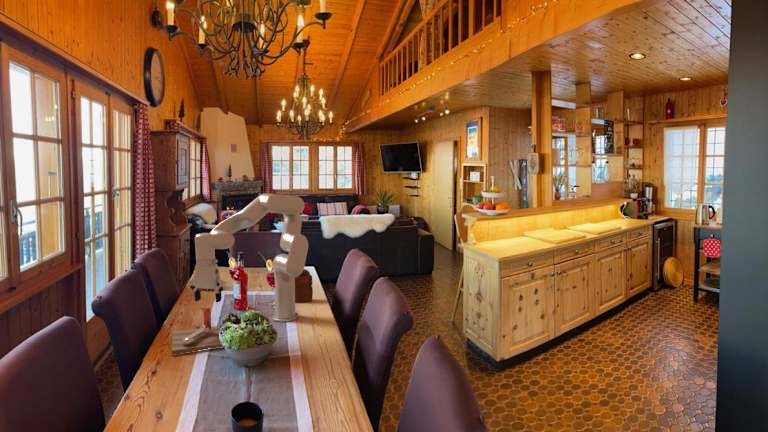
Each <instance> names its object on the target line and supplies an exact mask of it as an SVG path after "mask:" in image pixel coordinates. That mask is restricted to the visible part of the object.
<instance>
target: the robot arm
mask: <svg viewBox="0 0 768 432" xmlns="http://www.w3.org/2000/svg"><path fill="white" fill-rule="evenodd" d="M305 204H306V203H305V202H304V199H302V198H301V197H300V196H296V195H288V194H287V195H285V194H274V193H267V192H266V193H262V194H260V195H258V196H257V197H256V198H254V199H253V200H252V201H251V202H250V203H249V204H247V205H246V206H245V207H244V208H243V209H241V210H240V211H239V212H237V213H235V214H233V215H231V216H230V217H228V218H226V219H224V220H223V221H221V222H219V223H218V224H217V225H216V226H215V227H214V228H213V229H212V230H211V231H210V232H201V233H197V234H196V235H195V236H194V244H195V246H194V248H195V261H196V262H195V263H196V264H195V266H194V271H195V272H194V271H193V273H194V277H193V278H192V279H191V280H188V281H187V283H188V286H189V287H190V289H191V290H192V292H193V293H194V301H195V302H199V301H200V300H202V298H201V297H202V295H201V294H202V293H201V290H199V289H200V288H202V289H209V290H214V291H215V292H216V293H215V297H214V298H215V303H219V302H221V301H222V292H223V291H224V289H225V288H226V286H227V282H226V281H224V280H222V279H221V275H220V270H219V266H218V264H217V263H218V261H219V260H218V259H216V256H215V255H216V251H215V250H227V249H230V248H232V247H233V245H234V244H235V237H234V236H233V234H235V233H237V232H239V231H240V230H245V229H247V228H251V227H253V226H255V225H256V224H257V223H258V222H259V221H260V220H262V218H264V217H265V216H266V215H268V214H269V213H272V214H282V216H283V226H282V227H283V228H282V232H281V236H280V241H279V245H280V248H281V249H282V250H283V251H284V252H288V254H287V253H279V254H277V255H276V256H275V257H274V258H273V261H272V270H273V276H274V298H275V299H274V304H275V305H274V306H275V308H274V310H275V311H274V314H273V315H272V320H273V321H275V322H280V323H282V322H292V321H295V320H297V319H298V318H299V313H298V312H296V302H295V279H294V277H297V276H299V275H300V274H301V273H302V271H303V269H305V265H306V262H307V261H306V260H307V255H308V250H309V242H308V239H307V237H306V236H305V235H303V234H301V230H302V223H303V222H302V221H303V219H302V216H301V213H302V212H303V211H304V209H305Z"/></svg>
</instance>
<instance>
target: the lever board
mask: <svg viewBox="0 0 768 432" xmlns="http://www.w3.org/2000/svg"><path fill="white" fill-rule="evenodd" d="M201 328H202V327H200V328H192V329H185V330H177V331H172V343H171V356H172V355H174V354H180V353H186V352H192V351H198V350H203V349H208V348H216V347H222V345H221V342H220V340H219V329H220V330H221V328H220V325H216V326H211V329H210V330H209V331H208V332H206V333H205V334H203V335H201V336H200V337H198V338H197V339H195V340H194V344H192V345H188V346H185V345H183V338H185V337H188V336H189V335H191V334H193V333H194V332H196V331H198V330H199V329H201ZM174 356H175V355H174Z"/></svg>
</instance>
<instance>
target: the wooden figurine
mask: <svg viewBox="0 0 768 432" xmlns="http://www.w3.org/2000/svg"><path fill="white" fill-rule="evenodd" d="M294 279H295V303H308V302H309V303H310V302H311V303H312V301H313V297H314V296H313V293H314V291H313V286H312V285H313V275H312V274H311V272H310V271H309V270H307V269H305V268H304V269H303V271H302V273H301V274H300V275H299V276H297V277H294Z"/></svg>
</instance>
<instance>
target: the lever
mask: <svg viewBox="0 0 768 432" xmlns="http://www.w3.org/2000/svg"><path fill="white" fill-rule="evenodd" d="M211 311H212V309H211V307H204V308H203V309H202V313H203V314H202V315H203V316H202V317H203V326H202V327H200V328H201V329H199V328H198V329H199V330H198V331H196V332H194V333H193V334H191V335H189V336H188V337H185V338H183V345H185V346H188V345H192V344H194V340H195V339H197V338H198V337H200V336H201V335H203V334H205V333H206V332H208V331H209V330H210V329H211V327H212V312H211Z"/></svg>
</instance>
